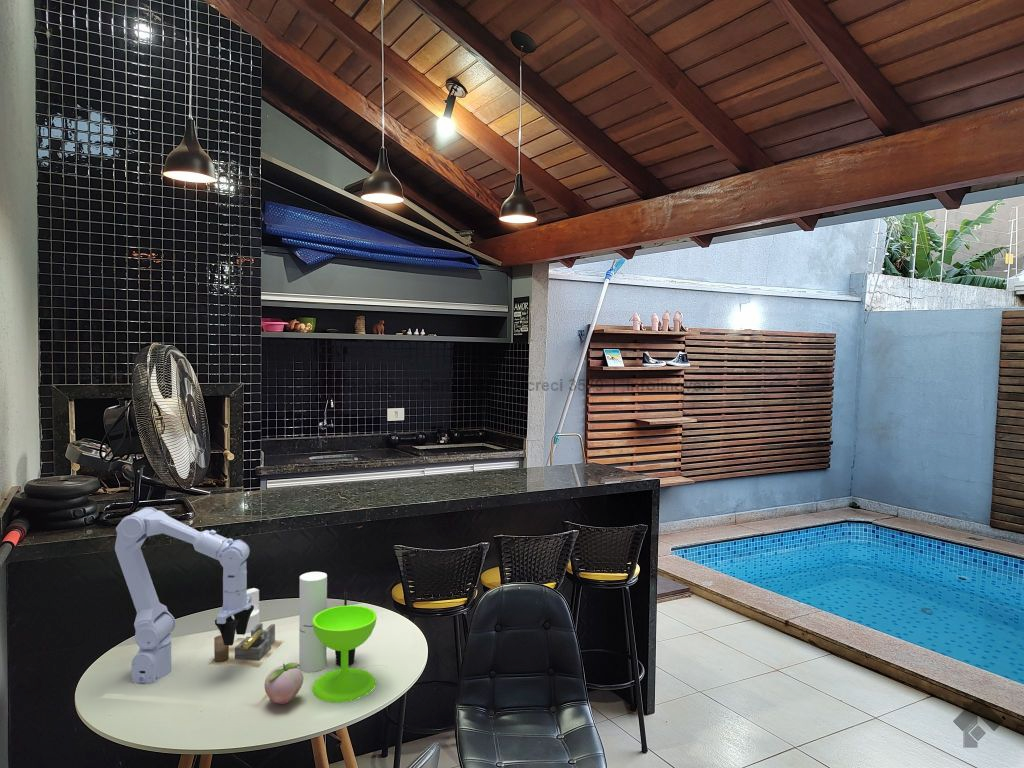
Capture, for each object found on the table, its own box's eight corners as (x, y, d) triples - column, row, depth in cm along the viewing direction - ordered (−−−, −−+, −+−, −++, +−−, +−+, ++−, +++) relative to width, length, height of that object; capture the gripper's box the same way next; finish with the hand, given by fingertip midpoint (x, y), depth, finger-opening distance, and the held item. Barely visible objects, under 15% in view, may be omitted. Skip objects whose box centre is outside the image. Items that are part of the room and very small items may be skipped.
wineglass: (358, 664, 181) (359, 600, 180) (387, 688, 169) (387, 620, 168) (302, 682, 171) (302, 614, 170) (328, 709, 159) (328, 636, 158)
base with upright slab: (237, 640, 194) (237, 600, 193) (221, 632, 199) (221, 593, 199) (265, 630, 201) (265, 592, 200) (249, 622, 207) (249, 585, 206)
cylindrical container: (318, 673, 176) (319, 581, 174) (294, 670, 177) (294, 579, 176) (331, 661, 183) (331, 573, 181) (307, 658, 184) (307, 570, 183)
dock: (258, 671, 176) (258, 648, 176) (208, 668, 177) (208, 645, 177) (284, 644, 192) (284, 623, 192) (238, 641, 193) (238, 621, 193)
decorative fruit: (282, 690, 167) (282, 652, 166) (308, 697, 164) (309, 658, 163) (255, 709, 158) (255, 668, 158) (283, 716, 155) (283, 675, 155)
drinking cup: (324, 664, 181) (325, 593, 180) (344, 653, 187) (344, 584, 186) (346, 671, 177) (346, 599, 176) (365, 660, 184) (365, 590, 183)
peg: (224, 662, 178) (224, 640, 178) (211, 661, 178) (211, 640, 178) (231, 656, 182) (231, 635, 181) (218, 655, 182) (218, 634, 182)
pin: (248, 650, 178) (248, 643, 178) (241, 650, 178) (241, 642, 178) (263, 636, 187) (263, 629, 187) (256, 636, 187) (256, 629, 187)
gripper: (235, 600, 165) (235, 652, 165) (262, 579, 179) (262, 628, 180) (208, 598, 165) (208, 651, 166) (237, 578, 180) (237, 627, 180)
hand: (234, 639), depth 173 cm, fingers open, 6 cm apart
